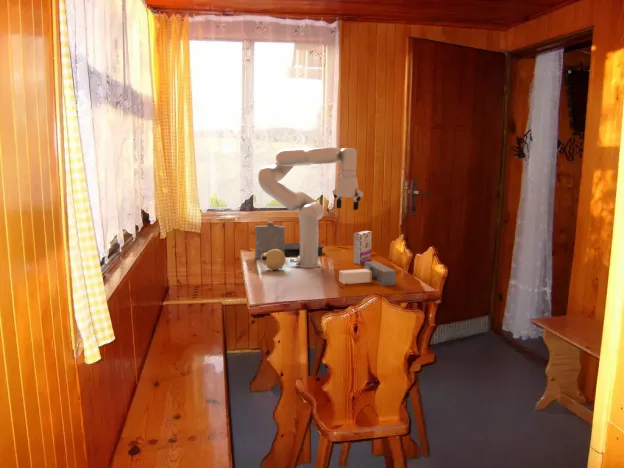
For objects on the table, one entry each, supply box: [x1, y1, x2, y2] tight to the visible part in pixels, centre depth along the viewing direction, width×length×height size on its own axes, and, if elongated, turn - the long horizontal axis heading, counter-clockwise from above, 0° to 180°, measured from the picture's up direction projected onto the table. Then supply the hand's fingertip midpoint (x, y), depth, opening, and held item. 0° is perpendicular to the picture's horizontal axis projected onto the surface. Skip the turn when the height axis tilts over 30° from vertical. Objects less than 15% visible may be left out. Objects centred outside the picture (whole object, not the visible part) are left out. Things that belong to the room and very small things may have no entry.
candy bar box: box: [352, 230, 373, 266], centre depth 269 cm, size 11×5×16 cm, turn 143°
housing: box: [364, 260, 397, 287], centre depth 235 cm, size 6×20×6 cm, turn 19°
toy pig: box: [260, 249, 286, 272], centre depth 249 cm, size 10×12×11 cm
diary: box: [284, 242, 325, 257], centre depth 292 cm, size 19×25×5 cm
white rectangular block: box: [338, 268, 373, 285], centre depth 231 cm, size 14×5×5 cm, turn 108°
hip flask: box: [254, 221, 286, 260], centre depth 275 cm, size 16×4×20 cm, turn 91°
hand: (347, 208), depth 249 cm, fingers open, 9 cm apart
